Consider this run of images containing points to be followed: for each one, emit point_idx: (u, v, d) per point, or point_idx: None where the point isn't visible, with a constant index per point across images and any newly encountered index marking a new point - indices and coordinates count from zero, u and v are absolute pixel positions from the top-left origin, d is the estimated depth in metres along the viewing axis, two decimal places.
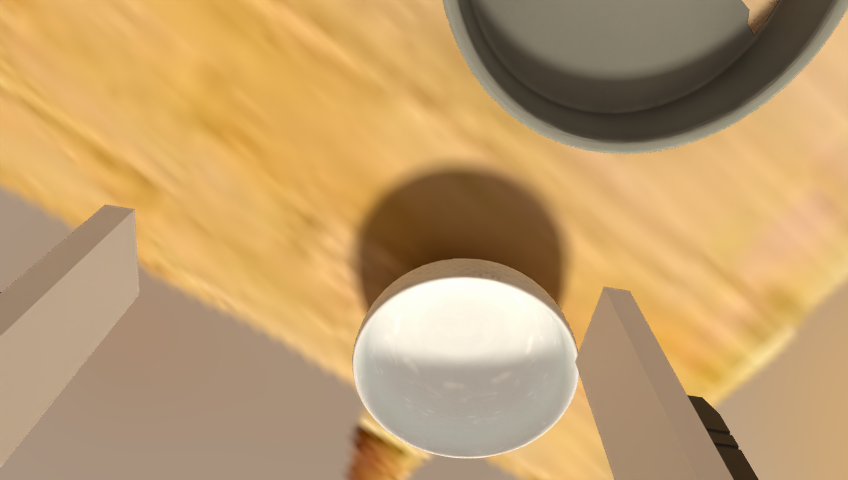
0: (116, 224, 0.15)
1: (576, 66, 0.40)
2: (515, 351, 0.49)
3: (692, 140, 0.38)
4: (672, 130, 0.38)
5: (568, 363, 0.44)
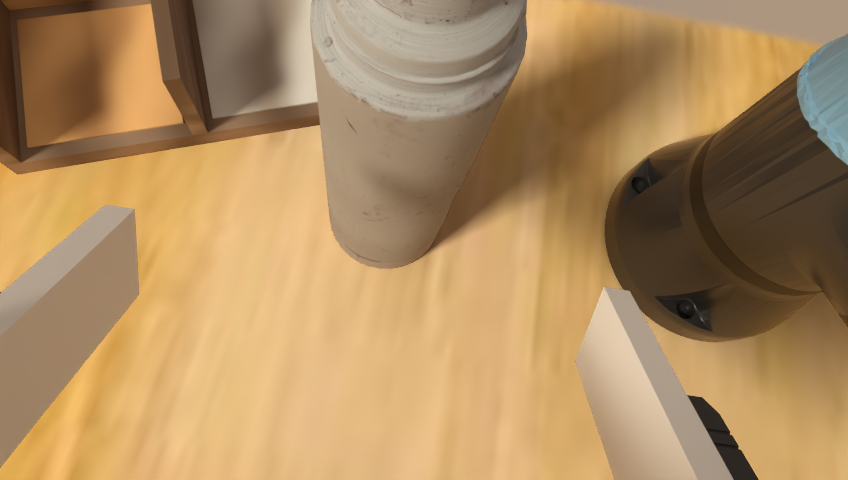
0: (116, 224, 0.15)
1: None
2: None
3: None
4: None
5: None
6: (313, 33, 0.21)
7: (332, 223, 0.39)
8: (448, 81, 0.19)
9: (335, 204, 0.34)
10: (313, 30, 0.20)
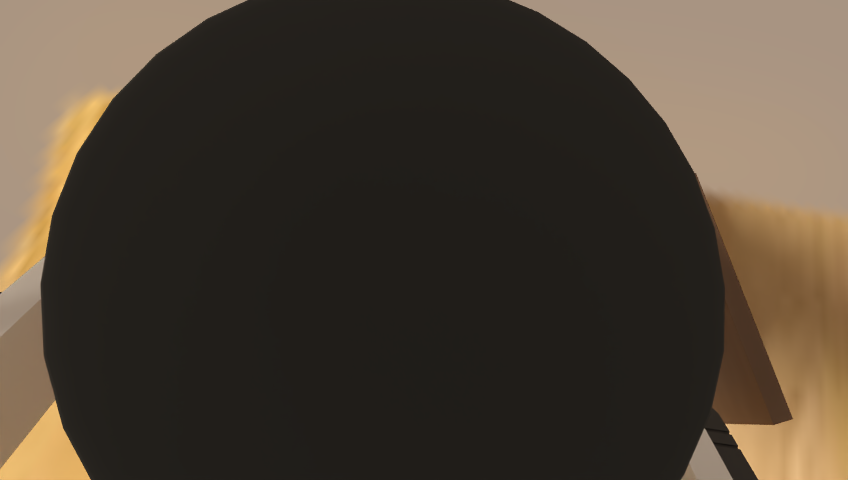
0: None
1: None
2: None
3: None
4: None
5: None
6: None
7: None
8: None
9: None
10: None
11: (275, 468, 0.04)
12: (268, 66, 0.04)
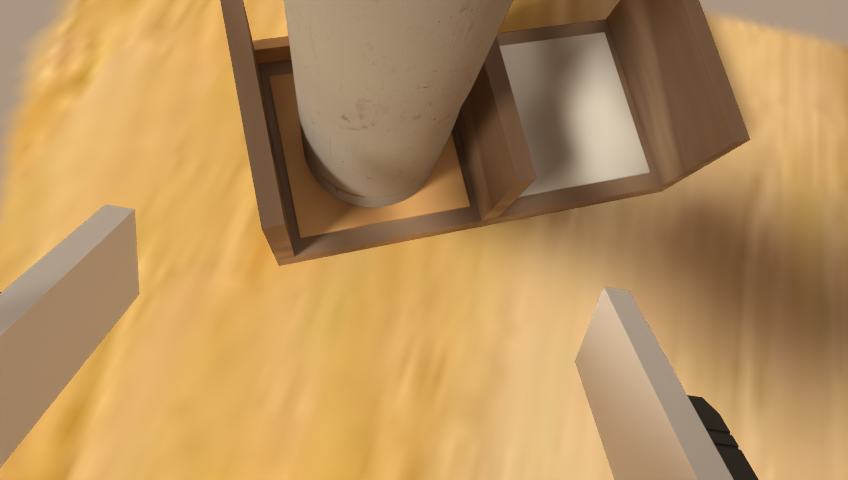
0: (116, 224, 0.15)
1: None
2: None
3: None
4: None
5: None
6: None
7: (304, 147, 0.31)
8: None
9: (306, 112, 0.26)
10: None
11: None
12: None
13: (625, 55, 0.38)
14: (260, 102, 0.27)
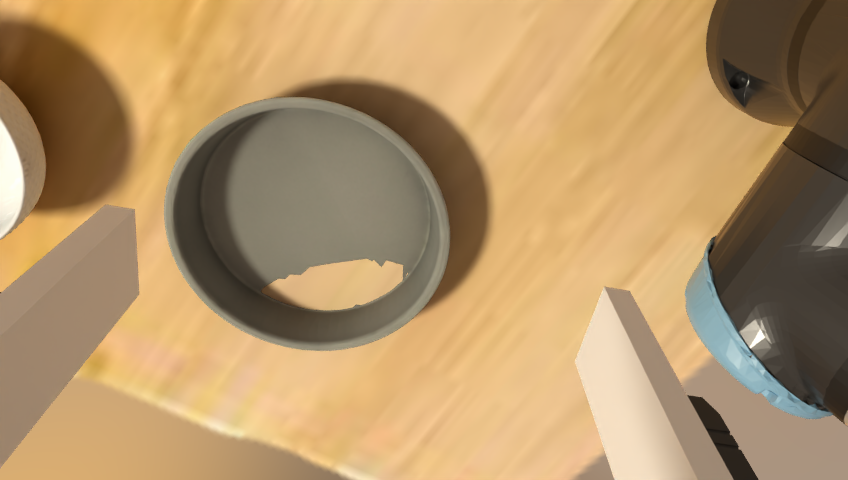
0: (116, 224, 0.15)
1: (231, 195, 0.53)
2: None
3: (191, 286, 0.53)
4: (196, 272, 0.53)
5: None
6: None
7: None
8: None
9: None
10: None
11: None
12: None
13: None
14: None
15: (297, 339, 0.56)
